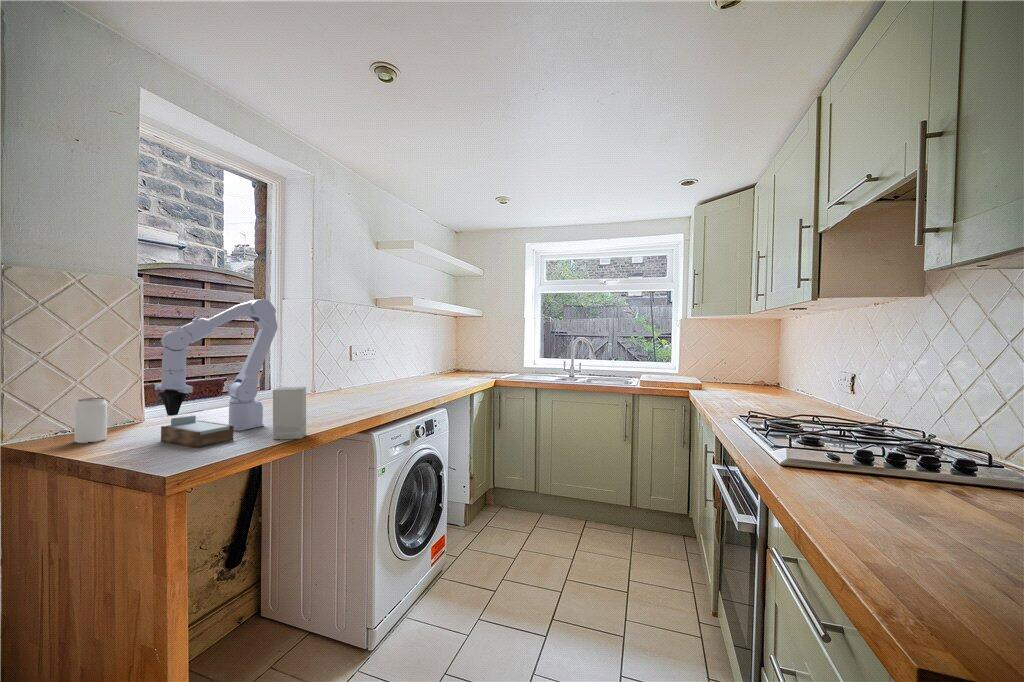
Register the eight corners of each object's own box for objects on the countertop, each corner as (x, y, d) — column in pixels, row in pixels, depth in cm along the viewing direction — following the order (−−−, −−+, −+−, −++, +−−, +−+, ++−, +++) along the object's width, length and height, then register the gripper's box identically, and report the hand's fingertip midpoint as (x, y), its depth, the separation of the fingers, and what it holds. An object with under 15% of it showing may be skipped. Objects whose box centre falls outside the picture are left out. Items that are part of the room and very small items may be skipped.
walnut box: (160, 441, 119) (161, 426, 119) (197, 434, 128) (197, 420, 128) (197, 448, 113) (198, 432, 113) (233, 440, 123) (233, 425, 123)
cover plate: (165, 429, 120) (166, 419, 120) (195, 424, 127) (196, 414, 127) (200, 435, 114) (200, 424, 114) (229, 429, 122) (229, 419, 122)
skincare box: (306, 434, 133) (307, 386, 132) (301, 439, 126) (302, 389, 126) (277, 435, 131) (279, 386, 130) (270, 440, 124) (272, 388, 124)
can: (68, 442, 115) (69, 399, 115) (97, 437, 121) (98, 396, 121) (84, 444, 113) (85, 401, 113) (112, 439, 120) (113, 398, 120)
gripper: (143, 369, 124) (142, 414, 124) (174, 372, 119) (173, 419, 119) (170, 368, 130) (168, 411, 130) (200, 371, 125) (199, 415, 125)
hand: (172, 415), depth 125 cm, fingers closed
